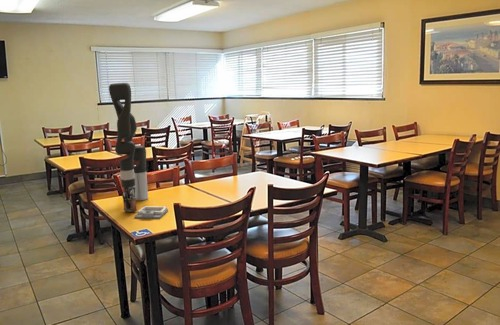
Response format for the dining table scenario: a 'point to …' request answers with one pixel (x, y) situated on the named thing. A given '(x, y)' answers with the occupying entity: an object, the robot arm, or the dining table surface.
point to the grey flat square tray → (151, 212)
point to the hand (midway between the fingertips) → (130, 207)
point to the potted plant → (131, 204)
